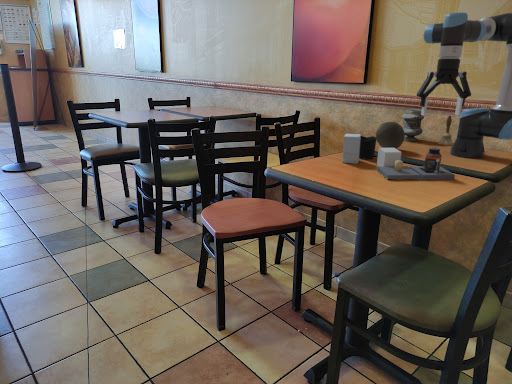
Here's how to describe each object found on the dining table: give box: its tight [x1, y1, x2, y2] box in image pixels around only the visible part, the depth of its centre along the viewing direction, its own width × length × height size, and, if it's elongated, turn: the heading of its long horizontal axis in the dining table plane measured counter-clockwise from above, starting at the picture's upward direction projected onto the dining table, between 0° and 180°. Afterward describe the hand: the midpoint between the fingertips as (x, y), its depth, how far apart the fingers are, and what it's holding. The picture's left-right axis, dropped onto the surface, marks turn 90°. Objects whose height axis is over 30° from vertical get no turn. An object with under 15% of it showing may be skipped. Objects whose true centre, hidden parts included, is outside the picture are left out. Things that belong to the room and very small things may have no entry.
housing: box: [376, 147, 402, 167], centre depth 165 cm, size 9×7×8 cm
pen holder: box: [359, 135, 377, 160], centre depth 183 cm, size 9×9×10 cm
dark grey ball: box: [375, 121, 406, 150], centre depth 196 cm, size 14×14×15 cm
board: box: [376, 160, 421, 181], centre depth 154 cm, size 13×13×6 cm
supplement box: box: [342, 133, 362, 165], centre depth 175 cm, size 7×7×13 cm
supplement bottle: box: [423, 147, 442, 173], centre depth 153 cm, size 6×6×11 cm
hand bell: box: [437, 115, 454, 146], centre depth 210 cm, size 8×8×16 cm
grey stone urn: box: [402, 108, 425, 143], centre depth 220 cm, size 12×12×18 cm
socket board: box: [409, 165, 456, 181], centre depth 155 cm, size 13×13×2 cm
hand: (440, 115), depth 147 cm, fingers open, 13 cm apart
